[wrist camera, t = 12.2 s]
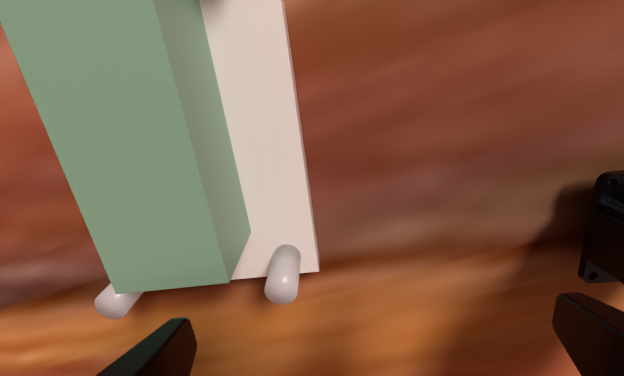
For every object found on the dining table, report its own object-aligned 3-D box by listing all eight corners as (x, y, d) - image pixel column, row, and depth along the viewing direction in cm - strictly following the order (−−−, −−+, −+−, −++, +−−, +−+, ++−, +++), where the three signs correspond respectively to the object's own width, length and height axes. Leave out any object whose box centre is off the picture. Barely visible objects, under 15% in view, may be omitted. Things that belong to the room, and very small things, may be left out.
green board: (194, -18, 13) (136, -62, 9) (251, 231, 17) (229, 282, 13) (84, 1, 13) (-23, -34, 9) (164, 241, 18) (115, 294, 13)
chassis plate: (270, -101, 13) (247, -182, 9) (318, 257, 19) (319, 307, 15) (11, -57, 14) (-122, -114, 10) (135, 275, 20) (87, 328, 16)
